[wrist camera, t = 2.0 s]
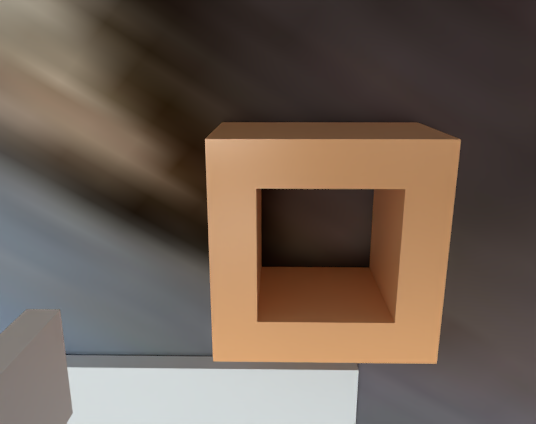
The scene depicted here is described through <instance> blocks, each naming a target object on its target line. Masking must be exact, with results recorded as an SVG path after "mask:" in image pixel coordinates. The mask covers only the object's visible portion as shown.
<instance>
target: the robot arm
mask: <svg viewBox="0 0 536 424" xmlns="http://www.w3.org/2000/svg"><path fill="white" fill-rule="evenodd" d="M72 414H73V410H72V402H71V394H70V386H69V378H68V369H67V361H66V353H65V345H64V337H63V329H62V321H61V313H60V309H26V310H25V311H24V312H23V313H22V314H21V315H20V316H19V317H18V318H17V319H16V320H15V321H14V322H13V323H12V324H11V325H9V326H8V327H7V328H6V329H5V330H4V331H3V332H2V333H1V334H0V424H67V422H68V420H69V419H70V417H71V415H72Z"/></svg>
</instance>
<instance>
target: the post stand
mask: <svg viewBox="0 0 536 424" xmlns="http://www.w3.org/2000/svg"><path fill="white" fill-rule="evenodd" d="M66 361H67V369H68V378H69V386H70V394H71V402H72V410H73V414H72V415H71V417H70V419H69V420H68V422H67V424H355V423H356V406H357V389H358V372H359V370H358V366H357V363H316V362H216V361H213V356H112V355H66Z"/></svg>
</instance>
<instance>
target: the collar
mask: <svg viewBox="0 0 536 424" xmlns="http://www.w3.org/2000/svg"><path fill="white" fill-rule="evenodd" d="M460 145H461V139H459V138H456V137H454V136H451V135H448V134H446V133H443V132H441V131H438V130H436V129H433V128H431V127H428V126H425V125H423V124H420V123H418V122H222V123H221V124H220V125H219V126H218V127H217V128H216V129H215V130H214V131H213V132H212V133H211V134H210V135H208V136H207V137H206V138H205V154H206V182H207V209H208V236H209V263H210V290H211V318H212V345H213V361H216V362H316V363H416V364H437V356H438V347H439V337H440V328H441V319H442V310H443V301H444V292H445V282H446V273H447V264H448V255H449V246H450V236H451V227H452V218H453V209H454V200H455V191H456V181H457V172H458V163H459V154H460ZM261 189H374V198H373V214H372V231H371V247H370V263H369V267H262V235H261Z"/></svg>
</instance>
